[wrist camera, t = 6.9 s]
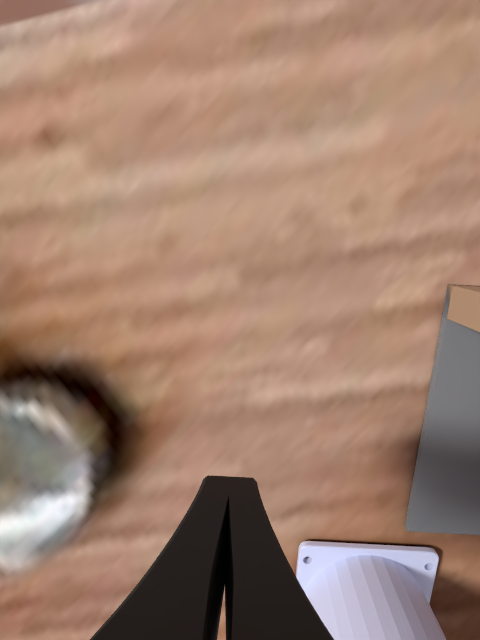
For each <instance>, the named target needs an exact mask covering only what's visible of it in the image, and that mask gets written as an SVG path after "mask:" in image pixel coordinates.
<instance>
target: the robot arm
mask: <svg viewBox="0 0 480 640" xmlns="http://www.w3.org/2000/svg"><path fill="white" fill-rule="evenodd" d="M305 557H309V558H305ZM438 561H439V556H438V555H437V553H436V551H435V550H434V549H433V548H429V547H412V546H394V545H375V544H356V543H337V542H318V541H304V542H302V543H301V544H300V545H299V550H298V560H297V570H296V576H295V574H294V572H293V570H292V568H291V566H290V564H289V563H288V561H287V559H286V557H285V555H284V553H283V551H282V549H281V546H280V544H279V542H278V540H277V537H276V535H275V533H274V531H273V529H272V526H271V524H270V522H269V519H268V517H267V514H266V511H265V509H264V506H263V503H262V500H261V497H260V494H259V490H258V486H257V482H256V481H255V480H254V478H245V477H226V476H207V477H205V478H204V479H203V481H202V484H201V486H200V489H199V491H198V493H197V495H196V497H195V499H194V501H193V502H192V504H191V506H190V508H189V510H188V511H187V513H186V515H185V516H184V518H183V520H182V521H181V523H180V524H179V526H178V528H177V529H176V531H175V533H174V534H173V536H172V537H171V539H170V540H169V542H168V543H167V545H166V546H165V547H164V549H163V550H162V552H161V553H160V555H159V556H158V557H157V559H156V560H155V562H154V563H153V564H152V566H151V567H150V569H149V570H148V571H147V573H146V574H145V575H144V577H143V578H142V579H141V580H140V582H139V583H138V584H137V586H136V587H135V588H134V589H133V591H132V592H131V593H130V594H129V595H128V597H127V598H126V599H125V600H124V601H123V603H122V604H121V605H120V606H119V607H118V609H117V610H116V611H115V612H114V613H113V614H112V615H111V617H110V618H109V619H108V620H107V621H106V622H105V623H104V624H103V625H102V627H101V628H100V629H99V630H98V631H97V632H96V633H95V634H94V636H93V637H92V638H91V639H90V640H217V635H218V628H219V621H220V614H221V607H222V600H223V593H224V586H225V609H226V640H446V637H445V635H444V633H443V631H442V629H441V627H440V625H439V623H438V621H437V619H436V617H435V615H434V613H433V611H432V609H431V607H430V605H429V603H430V599H431V594H432V589H433V585H434V580H435V575H436V570H437V566H438ZM427 563H428V564H427Z"/></svg>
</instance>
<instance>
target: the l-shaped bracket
mask: <svg viewBox="0 0 480 640" xmlns="http://www.w3.org/2000/svg"><path fill="white" fill-rule="evenodd" d="M405 527H406V529H407V531H412V532H431V533H450V534H469V535H480V286H470V285H448V288H447V294H446V299H445V305H444V310H443V316H442V321H441V327H440V332H439V338H438V343H437V349H436V355H435V360H434V366H433V371H432V377H431V382H430V388H429V393H428V399H427V405H426V410H425V416H424V421H423V427H422V432H421V438H420V443H419V449H418V454H417V460H416V466H415V471H414V477H413V482H412V488H411V493H410V499H409V504H408V510H407V516H406V521H405Z"/></svg>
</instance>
